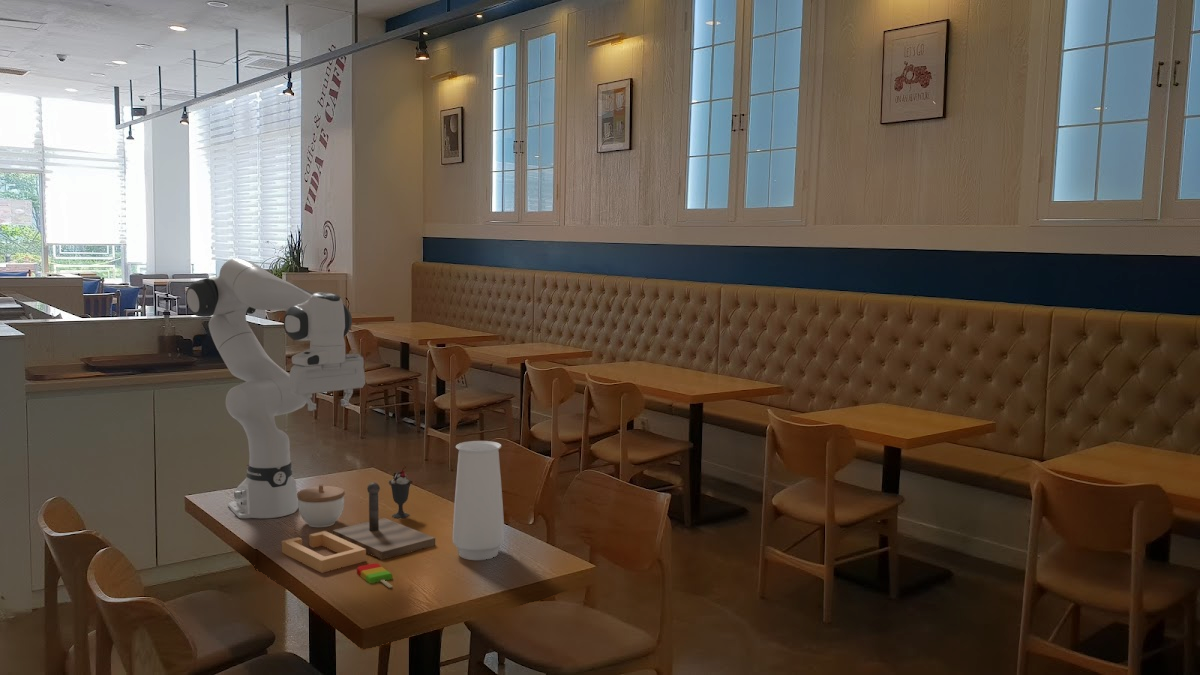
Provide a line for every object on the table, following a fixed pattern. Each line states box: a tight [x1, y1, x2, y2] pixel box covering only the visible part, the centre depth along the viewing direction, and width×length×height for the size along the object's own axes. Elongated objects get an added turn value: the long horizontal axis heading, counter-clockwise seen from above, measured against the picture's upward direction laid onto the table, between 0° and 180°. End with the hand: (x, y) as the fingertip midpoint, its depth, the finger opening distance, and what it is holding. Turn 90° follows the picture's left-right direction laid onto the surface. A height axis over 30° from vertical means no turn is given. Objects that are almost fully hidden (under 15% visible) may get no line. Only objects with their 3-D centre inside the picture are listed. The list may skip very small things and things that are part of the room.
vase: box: [452, 440, 505, 561], centre depth 233 cm, size 13×13×28 cm
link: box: [281, 530, 367, 574], centre depth 230 cm, size 20×12×3 cm, turn 46°
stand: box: [331, 482, 436, 560], centre depth 242 cm, size 24×16×15 cm, turn 46°
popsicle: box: [356, 563, 394, 589], centre depth 216 cm, size 6×15×2 cm, turn 36°
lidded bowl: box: [297, 484, 346, 528], centre depth 257 cm, size 13×13×11 cm
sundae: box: [388, 465, 413, 519], centre depth 265 cm, size 7×7×15 cm
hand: (328, 408), depth 240 cm, fingers open, 8 cm apart
